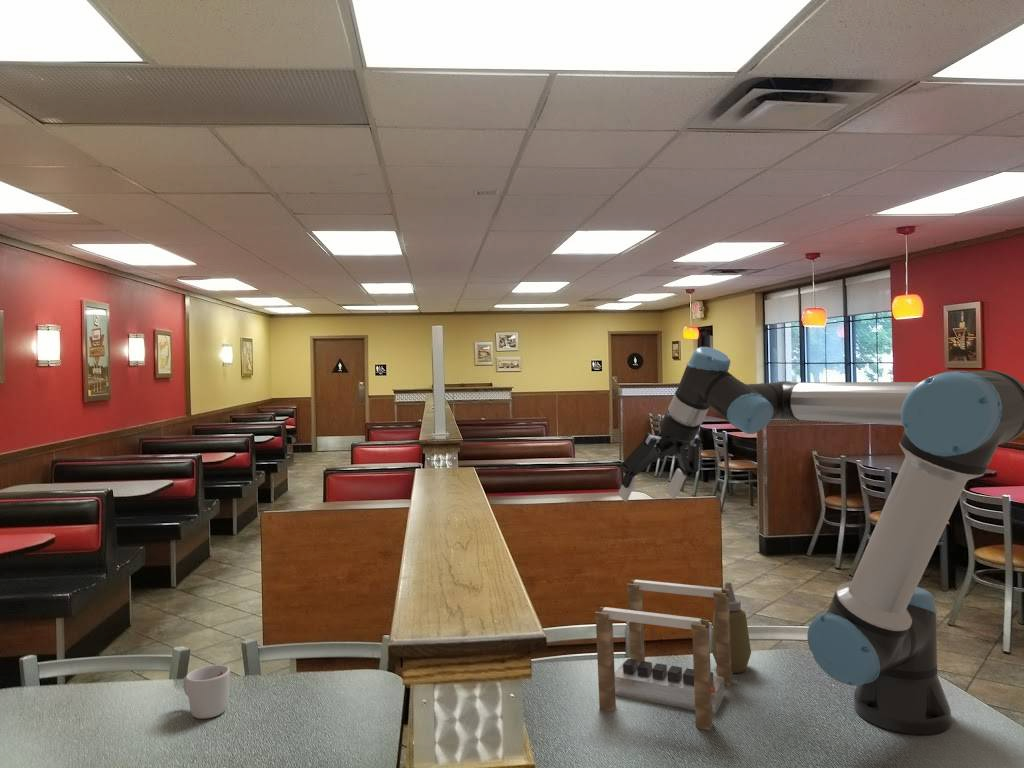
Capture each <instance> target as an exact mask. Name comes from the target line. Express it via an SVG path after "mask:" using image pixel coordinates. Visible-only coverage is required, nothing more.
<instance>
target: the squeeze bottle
mask: <svg viewBox="0 0 1024 768" xmlns="http://www.w3.org/2000/svg"><path fill="white" fill-rule="evenodd" d="M723 589H729V616H730V642H731V667H732V674H739V673H743V672H745V671H746V670H747V667H748V664H749V662H750V658H751V654H752V650H751V649H752V648H751V643H750V641H751V640H750V636H749V629H748V621H747V614H746V612H745V611H744V610H743V609H742V608H741V607H742V606H741V603H742V602H741V600H740V599H739V598H737V597H736V596H735V592H734V588H733V586H732V582H730V581H729V582H728V581H727V582H725V583H724V588H723ZM712 612H713V615H712V627H711V628H712V630H711V632H712V633H711V643H710V645H711V646H710V650H711V651H710V652H711V654H712V656H713V659H714V662H715V663H716V665H717V658H716V633H715V609H714V611H712Z"/></svg>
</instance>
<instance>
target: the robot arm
mask: <svg viewBox="0 0 1024 768" xmlns="http://www.w3.org/2000/svg"><path fill="white" fill-rule="evenodd" d="M730 366H731V359H730V358H729V357H728V355H726V354H725V353H724V352H722V351H721V350H718V349H716V348H712V347H708V346H700V347H698V348H696V349H695V350H694V352H693V353H692V355H691V357H690V359H689V361H688V362H687V364H686V367H685V370H684V372H683V374H682V376H681V380H680V382H679V384H678V387H677V388H676V390H675V392H674V394H673V397H672V399H671V401H670V403H669V406H668V410H667V411H666V412H665V414H664V416H663V419H662V420H661V423H660V432H659V433H658V434H657V435H653V434H652V432H647V433H646V434H645V436H644V438H643V440H642V441H641V442H640V443H639V444H638V445H637V447H635V449H634V450H633V451H631V453H630V454H629V455H628V456H627V457H626V459H624V460H623V461H622V463H621V464H620V465H619V469H621V471H622V472H623V473H624V475H623V478H622V480H621V483H620V484H621V486H620V489H619V490H618V494H617V495H618V496H620V498H621V499H622V501H623V502H625V503H626V502H628V500H629V498H630V496H631V495H632V492H633V489H634V487H635V486H636V483H637V480H638V476H637V475H639V474H640V473H641V472H642V471H644V470H645V469H646V468H647V467H649V466H650V465H651V464H652V463H654V462H655V461H656V460H658V459H660V460H661V459H662V458H663V457H667V456H672V457H674V456H676V457H677V461H678V463H679V467H680V468H676V469H675V472H674V474H673V476H672V478H671V480H670V483H669V484H668V487H667V489H666V490H665V491H666V493H667V494H668V495H669V497H670V498H671V499H673V500H676V498H677V497H678V495H679V492H680V491H681V488H682V486H683V485H684V484H685V482H686V480H687V478H688V477H689V478H692V477H693V476H694V473H695V474H696V473H698V472H699V469H700V447H701V444H702V442H703V441H702V438H701V437H700V436H699V435H698V433H699V430H700V428H701V424H702V423H704V420H705V418H706V415H707V413H708V411H709V409H710V408H711V409H712V410H714V411H715V412H716V413H717V414H719V415H720V416H721V417H722V418H724V419H725V420H726V421H727V422H729V424H730V425H732V426H733V427H734V428H737V429H738V430H740V431H741V432H743V433H744V434H746V435H747V434H748V435H754V434H757V433H758V432H759V431H762V430H763V429H765V427H766V426H767V425H769V423H770V422H771V421H775V420H778V421H779V420H780V421H781V420H785V421H791V420H792V421H814V422H832V423H836V422H837V423H850V424H855V423H856V424H866V425H867V424H870V425H885V426H886V425H887V426H888V425H889V426H890V425H891V426H892V425H893V426H903V428H904V432H903V434H902V436H901V438H900V441H899V447H900V448H901V451H902V452H903V453H904V459H903V462H902V465H901V467H900V469H899V472H898V474H897V476H896V478H895V480H894V483H893V485H892V487H891V488H890V489H891V490H890V492H889V494H888V496H887V499H886V501H885V503H884V506H883V508H882V510H881V513H880V515H879V518H878V520H877V522H876V524H875V527H874V529H873V531H872V534H871V535H870V538H869V540H868V543H867V545H866V547H865V550H864V552H863V554H862V556H861V559H860V561H859V563H858V565H857V568H856V571H855V573H854V575H853V576H852V577H853V578H852V579H851V581H847V582H843V583H841V584H839V585H838V586H837V588H836V591H835V592H834V594H833V597H832V599H831V602H830V604H829V606H828V608H827V610H826V612H824V613H820V614H818V615H817V616H816V617H815V618H814V619H813V620H812V621H811V622H810V624H809V625H808V629H807V635H806V636H807V637H806V639H807V644H808V645H807V646H808V648H809V651H810V652H811V653H812V655H813V656H812V658H813V660H814V661H815V662H816V664H817V665H818V667H819V668H820V669H821V670H822V671H823V672H824V673H825V674H826V675H827V676H829V677H830V678H831V679H832V680H834V681H836V682H838V683H841V684H843V685H846V686H853V687H855V690H854V694H853V703H854V704H853V706H854V707H853V709H854V710H855V711H856V712H855V713H857V714H858V716H860V717H861V718H862V719H863V720H866V721H867V722H869V723H871V724H872V725H874V726H876V727H880V728H882V729H884V730H889V731H892V732H897V733H900V734H901V733H902V734H906V735H907V734H908V735H918V736H922V735H924V736H926V735H929V736H930V735H935V734H936V735H937V734H939V733H943V732H945V731H947V730H948V729H950V727H951V726H952V712H951V711H952V710H951V708H950V704H949V701H948V699H947V697H946V694H945V692H944V689H943V686H942V684H941V681H940V679H939V674H938V650H937V649H938V648H937V647H938V646H937V645H938V644H937V610H936V604H935V603H936V601H935V598H934V596H933V594H932V593H931V592H930V591H928V590H926V589H925V588H922V587H918V585H919V583H920V581H921V579H922V577H923V575H924V573H925V571H926V568H927V567H928V565H929V562H930V560H931V559H932V556H933V554H934V551H935V549H936V548H937V545H938V543H939V541H940V539H941V537H942V535H943V532H944V531H945V528H946V526H947V524H948V522H949V520H950V518H951V516H952V514H953V512H954V509H955V507H956V506H957V503H958V501H959V499H960V497H961V495H962V492H963V491H964V488H965V486H966V484H967V482H968V481H969V480H972V479H976V478H981V477H983V476H984V475H985V473H986V471H987V469H988V467H989V464H990V462H991V461H992V459H993V456H994V454H995V452H996V451H997V448H998V446H999V445H1000V446H1001V445H1003V444H1006V443H1009V442H1013V440H1016V438H1018V437H1020V436H1021V435H1022V434H1024V384H1023V382H1021V380H1018V379H1017V378H1016V377H1015V376H1013V375H1011V374H1009V373H1006V372H1002V371H999V370H989V369H987V370H986V369H985V370H973V371H972V370H971V371H966V370H952V371H951V370H949V371H945V372H941V373H938V374H935V375H932V376H929V377H927V378H924V379H923V380H921V381H917V382H916V381H910V382H909V381H907V382H906V381H900V382H899V381H890V382H889V381H882V382H881V381H880V382H878V381H876V382H875V381H874V382H873V381H859V382H858V381H855V382H854V381H852V382H851V381H850V382H849V381H847V382H846V381H845V382H843V381H841V382H840V381H836V382H835V381H831V382H830V381H829V382H827V381H823V382H821V381H819V382H816V381H815V382H812V381H806V382H805V381H804V382H797V381H796V382H794V381H791V380H790V381H788V380H787V381H786V380H784V381H778V382H766V383H765V382H764V383H763V382H761V383H747V384H746V383H744V382H743V381H741V380H739V379H738V378H736V376H734V375H733V374H731V372H729V370H730ZM686 447H687V450H686ZM656 448H657V449H656Z"/></svg>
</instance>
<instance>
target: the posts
mask: <svg viewBox="0 0 1024 768" xmlns="http://www.w3.org/2000/svg"><path fill="white" fill-rule="evenodd" d="M635 580H636V579H631V580H630V583H626V590H627V610H634V611H642V612H644V605H643V590H639V586H638V584H633V581H635ZM713 595H714V598H713V602H714V604H713V605H714V610H715V633H716V658H717V664H716V676H721V677H724V684H725V686H731V684H732V682H733V675H732V674H733V673H732V667H731V642H730V616H729V589H724V588H722V593H717V592H714V593H713ZM605 607H606V606H605ZM605 607H604V606H600V607H599V611H595V612H594V620H595V630H596V631H595V632H596V652H597V653H596V654H597V655H596V656H597V657H596V658H597V678H598V681H597V682H598V704H599V705H598V707H599V710H601V711H605V712H606V711H607V712H613V711H614V710H615V708H616V706H617V703H616V702H617V701H616V696H617V695H615V672H616V670H615V653H614V651H615V650H614V649H615V648H614V647H615V646H614V629H613V627H614V626H613V625H614V624H613V619H608V613H603V612H602V610H603V609H604V608H605ZM700 619H701V625H700V624H691V629H690V630H691V634H692V637H691V638H692V659H693V660H692V661H693V669H694V689H695V710H694V711H695V714H694V715H695V728H696V729H701V730H705V731H711V730H712V727H713V724H714V723H713V713H712V694H711V672H712V671H711V670H712V669H711V651H710V650H711V646H710V645H711V643H710V619H704V618H703V619H702V618H700ZM644 631H645V629H644V623H636V622H628V634H629V637H628V638H629V656H630V657H629V659H634V660H637V661H638V663H641V662H642V661H646V660H645V659H646V658H645V657H646V656H645V633H644Z"/></svg>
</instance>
